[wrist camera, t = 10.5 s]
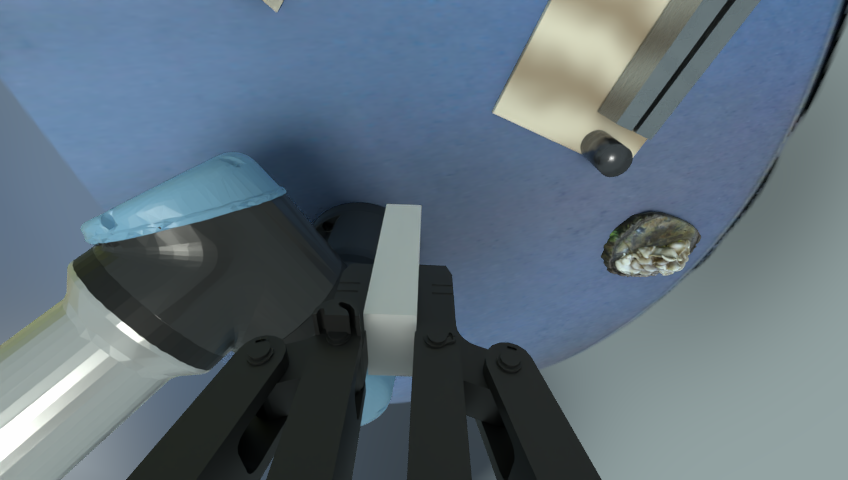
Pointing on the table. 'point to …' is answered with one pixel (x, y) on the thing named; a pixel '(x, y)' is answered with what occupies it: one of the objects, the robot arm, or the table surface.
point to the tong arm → (658, 59)
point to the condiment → (274, 4)
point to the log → (650, 245)
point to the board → (577, 68)
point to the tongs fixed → (669, 90)
